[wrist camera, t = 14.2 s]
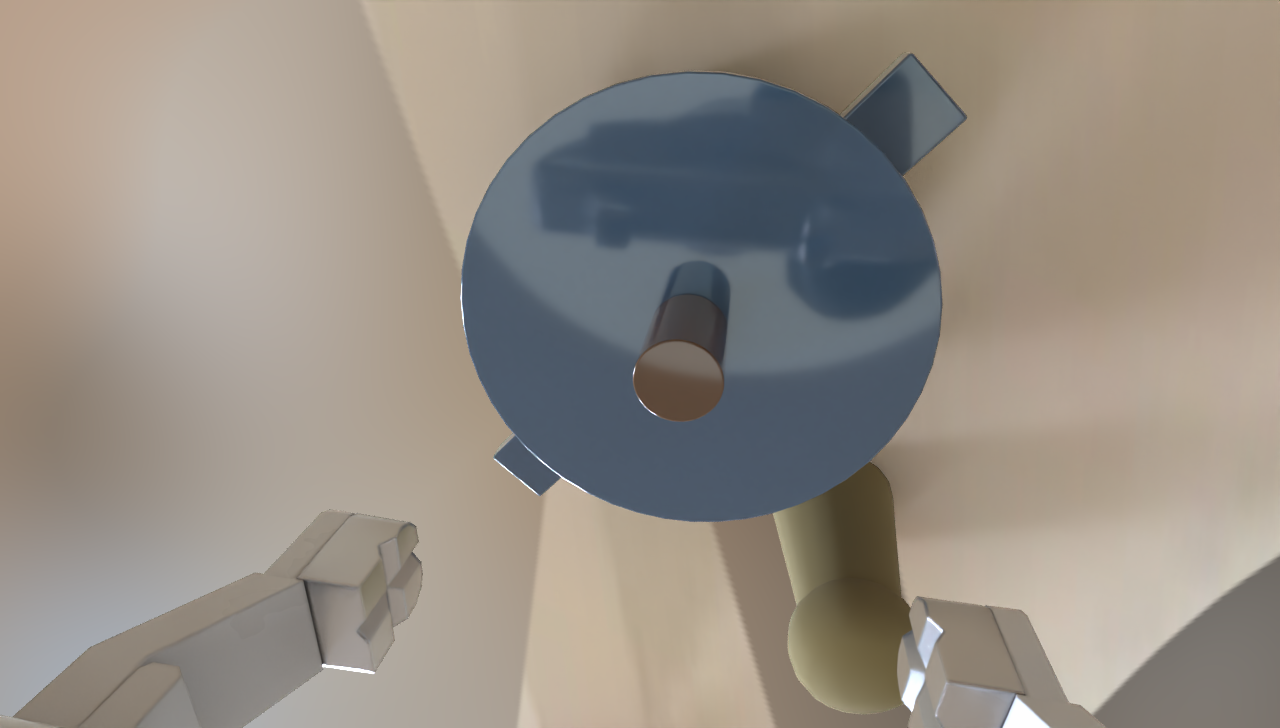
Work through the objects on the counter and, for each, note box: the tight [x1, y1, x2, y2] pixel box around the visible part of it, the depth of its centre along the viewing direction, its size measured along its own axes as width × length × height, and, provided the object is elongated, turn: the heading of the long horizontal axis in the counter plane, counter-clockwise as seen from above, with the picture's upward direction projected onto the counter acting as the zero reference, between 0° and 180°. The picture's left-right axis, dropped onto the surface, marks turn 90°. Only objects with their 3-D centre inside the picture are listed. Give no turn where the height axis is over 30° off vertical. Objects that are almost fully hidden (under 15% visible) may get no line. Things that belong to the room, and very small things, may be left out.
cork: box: [773, 462, 912, 714], centre depth 29 cm, size 6×6×11 cm
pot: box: [493, 52, 967, 496], centre depth 25 cm, size 14×19×10 cm
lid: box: [461, 70, 943, 522], centre depth 20 cm, size 15×15×5 cm
